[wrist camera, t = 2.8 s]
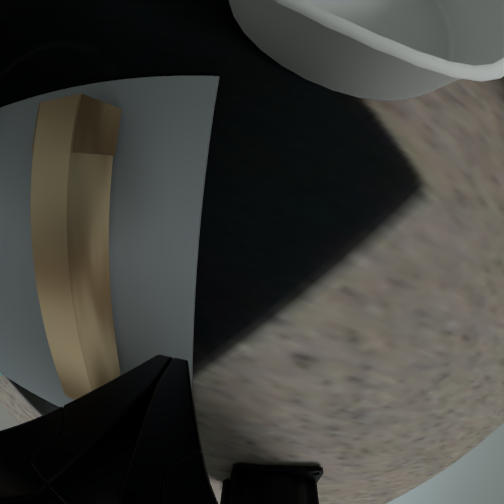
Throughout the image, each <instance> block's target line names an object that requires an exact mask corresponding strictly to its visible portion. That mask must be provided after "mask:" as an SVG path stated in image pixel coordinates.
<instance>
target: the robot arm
mask: <svg viewBox="0 0 504 504" xmlns="http://www.w3.org/2000/svg"><path fill="white" fill-rule="evenodd" d="M322 475H323V468H322V467H275V466H258V465H247V464H234V465H233V466H232V471H231V476H230V479H225V480H224V481H223V487H222V494H221V501H220V504H319V500H318V492H317V482H318V480H319V479H320V477H321V476H322ZM0 504H218V502H217V500H216V497H215V495H214V492H213V489H212V487H211V484H210V481H209V477H208V473H207V470H206V466H205V461H204V456H203V453H202V447H201V442H200V436H199V431H198V425H197V419H196V413H195V407H194V400H193V394H192V387H191V379H190V372H189V364H188V361H187V360H185V359H180V358H172V357H170V356H165V355H161V354H158V355H156V356H154V357H152V358H151V359H149V360H147V361H145V362H144V363H142V364H140V365H138V366H137V367H135V368H133V369H131V370H129V371H128V372H126V373H124V374H122V375H120V376H119V377H117V378H115V379H113V380H111V381H109V382H107V383H106V384H104V385H102V386H100V387H98V388H96V389H94V390H93V391H91V392H89V393H87V394H85V395H83V396H81V397H79V398H77V399H75V400H73V401H71V402H69V403H68V404H66V405H64V406H63V407H59V408H57V409H55V410H53V411H51V412H49V413H47V414H45V415H43V416H40V417H38V418H36V419H34V420H31V421H28V422H26V423H23V424H20V425H18V426H14V427H11V428H8V429H5V430H2V431H0Z"/></svg>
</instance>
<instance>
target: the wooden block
mask: <svg viewBox="0 0 504 504" xmlns="http://www.w3.org/2000/svg"><path fill="white" fill-rule="evenodd" d="M121 112H122V109H119V108H117V107H115V106H112V105H110V104H107V103H105V102H102V101H100V100H97V99H94V98H92V97H89V96H87V95H84V94H77V95H71V96H66V97H61V98H56V99H52V100H48V101H43V102H39V107H38V112H37V117H36V123H35V130H34V137H33V145H32V154H31V155H33V160H32V174H31V237H32V251H33V261H34V270H35V278H36V285H37V291H38V297H39V303H40V308H41V313H42V318H43V323H44V327H45V331H46V335H47V339H48V343H49V347H50V351H51V354H52V358H53V361H54V364H55V367H56V370H57V374H58V377H59V379H60V382H61V385H62V388H63V391H64V393H65V396H67V397H70V398H72V399H74V400H75V399H77V398H79V397H81V396H83V395H85V394H87V393H89V392H91V391H93V390H94V389H96V388H98V387H100V386H102V385H104V384H106V383H107V382H109V381H111V380H113V379H115V378H117V377H119V375H120V374H121V372H120V366H119V360H118V354H117V347H116V339H115V332H114V323H113V313H112V302H111V289H110V270H109V207H110V188H111V175H112V164H113V156H115V154H116V146H117V138H118V131H119V124H120V118H121Z"/></svg>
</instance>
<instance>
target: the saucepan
mask: <svg viewBox="0 0 504 504" xmlns="http://www.w3.org/2000/svg"><path fill="white" fill-rule="evenodd" d="M229 4H230V7H231V10H232V13H233V16H234V18H235V19H236V21H237V22H238V24H239V25H240V27H241V29H242V30H243V32H244V33H245V34H246V35H247V36H248V37H249V38H250V39H251V40H252V41H253V42H254V44H255V45H256V46H257V47H258V48H259V49H260V50H261V51H263V52H264V53H266V54H267V55H268V56H270V57H271V58H272V59H274V60H275V61H276V62H278V63H279V64H280V65H281V66H283V67H285V68H287V69H289V70H291V71H292V72H294V73H296V74H298V75H299V76H301V77H303V78H305V79H306V80H309V81H312V82H314V83H316V84H319V85H321V86H324V87H326V88H328V89H331V90H333V91H337V92H341V93H345V94H348V95H352V96H355V97H358V98H366V99H374V100H381V101H390V100H407V99H411V98H414V97H418V96H422V95H425V94H427V93H429V92H431V91H434V90H436V89H438V88H441V87H443V86H445V85H448V84H450V83H452V82H455V81H457V80H460V79H468V80H475V81H487V80H494V79H500V78H502V77H503V76H504V0H229Z"/></svg>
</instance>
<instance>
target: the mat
mask: <svg viewBox="0 0 504 504" xmlns="http://www.w3.org/2000/svg"><path fill="white" fill-rule="evenodd" d="M218 83H219V76H159V77H143V78H132V79H122V80H114V81H107V82H100V83H94V84H88V85H82V86H77V87H72V88H67V89H63V90H58V91H54V92H50V93H46V94H42V95H39V96H35V97H32V98H28V99H25V100H22V101H19V102H16V103H13V104H10V105H7V106H4V107H1V108H0V373H2V374H3V375H5V376H6V377H8V378H9V379H11V380H12V381H14V382H15V383H17V384H19V385H20V386H22V387H24V388H25V389H27V390H29V391H30V392H32V393H34V394H36V395H38V396H39V397H41V398H43V399H45V400H47V401H49V402H51V403H53V404H55V405H57V406H59V407H63V406H64V405H66V404H68V403H69V402H71V401H73V400H74V399H72V398H70V397H67V396H65V393H64V391H63V388H62V385H61V382H60V379H59V377H58V374H57V370H56V367H55V364H54V361H53V358H52V354H51V351H50V347H49V343H48V339H47V335H46V331H45V327H44V323H43V318H42V313H41V308H40V303H39V297H38V291H37V285H36V278H35V270H34V261H33V251H32V237H31V174H32V160H33V155H31V154H32V145H33V137H34V130H35V123H36V117H37V112H38V107H39V102H43V101H48V100H52V99H56V98H61V97H66V96H71V95H77V94H84V95H87V96H89V97H92V98H94V99H97V100H100V101H102V102H105V103H107V104H110V105H112V106H115V107H117V108H119V109H122V112H121V118H120V124H119V131H118V138H117V146H116V154H115V156H113V164H112V175H111V188H110V207H109V270H110V289H111V302H112V313H113V323H114V332H115V339H116V347H117V354H118V360H119V366H120V372H121V374H120V375H122V374H124V373H126V372H128V371H129V370H131V369H133V368H135V367H137V366H138V365H140V364H142V363H144V362H145V361H147V360H149V359H151V358H152V357H154V356H156V355H158V354H161V355H165V356H170V357H172V358H180V359H185V360H187V361H188V364H189V372H190V379H191V387H192V386H193V335H194V310H195V291H196V274H197V260H198V247H199V235H200V223H201V213H202V202H203V193H204V184H205V175H206V166H207V158H208V150H209V143H210V135H211V128H212V121H213V115H214V108H215V102H216V95H217V89H218ZM120 375H119V376H120Z"/></svg>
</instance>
